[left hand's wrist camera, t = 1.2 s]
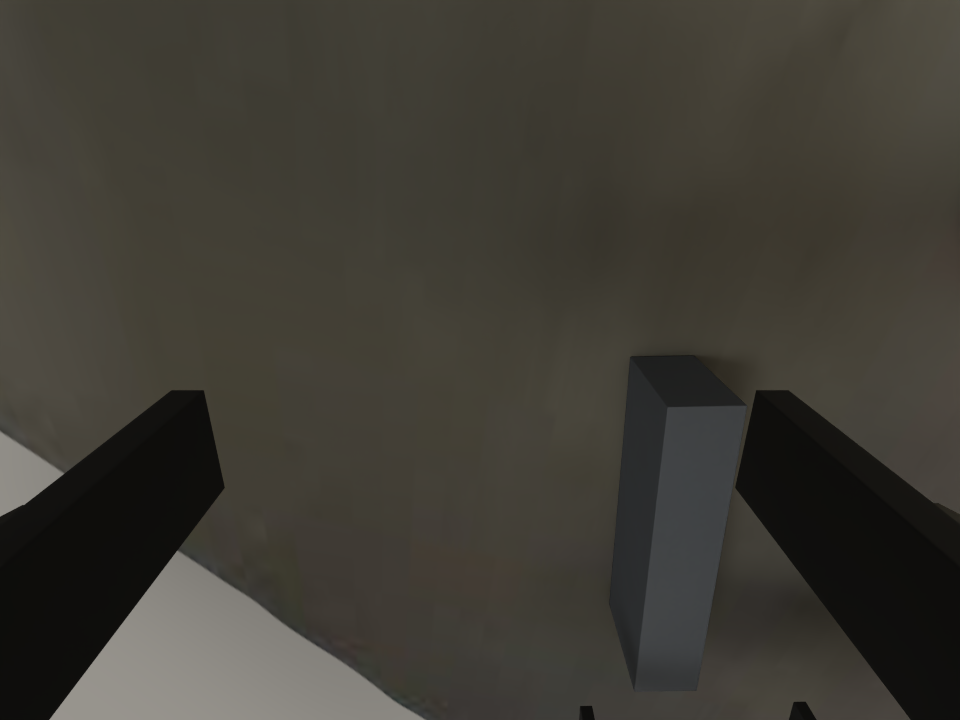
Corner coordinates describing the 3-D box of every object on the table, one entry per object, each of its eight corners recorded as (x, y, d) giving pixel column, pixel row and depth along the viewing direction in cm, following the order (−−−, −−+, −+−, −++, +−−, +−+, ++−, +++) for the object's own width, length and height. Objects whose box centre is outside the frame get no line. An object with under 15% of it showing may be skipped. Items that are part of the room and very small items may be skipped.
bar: (630, 356, 38) (667, 407, 31) (694, 355, 38) (747, 405, 31) (609, 603, 47) (634, 691, 39) (661, 602, 47) (696, 691, 39)
